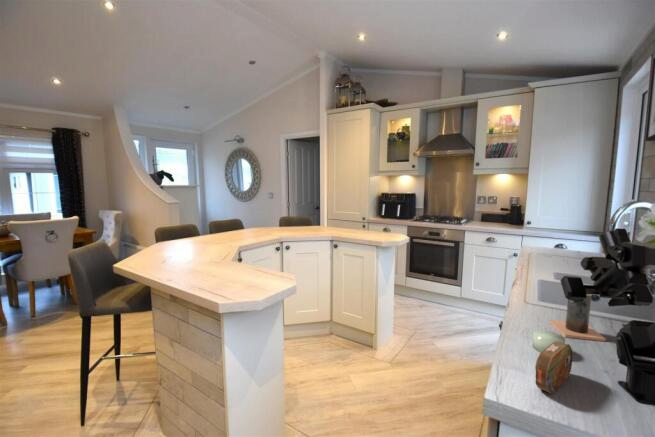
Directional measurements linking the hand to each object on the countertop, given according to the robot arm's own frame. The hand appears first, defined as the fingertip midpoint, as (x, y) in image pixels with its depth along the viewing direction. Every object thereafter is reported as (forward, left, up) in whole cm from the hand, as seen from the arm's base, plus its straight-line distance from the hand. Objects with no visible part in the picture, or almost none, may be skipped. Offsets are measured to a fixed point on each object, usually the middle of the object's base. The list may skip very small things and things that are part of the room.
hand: (589, 303), depth 89 cm
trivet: (+6, 0, -11) cm, 12 cm away
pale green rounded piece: (-8, +13, -11) cm, 19 cm away
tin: (-25, +18, -11) cm, 33 cm away
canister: (+5, 0, -10) cm, 12 cm away
